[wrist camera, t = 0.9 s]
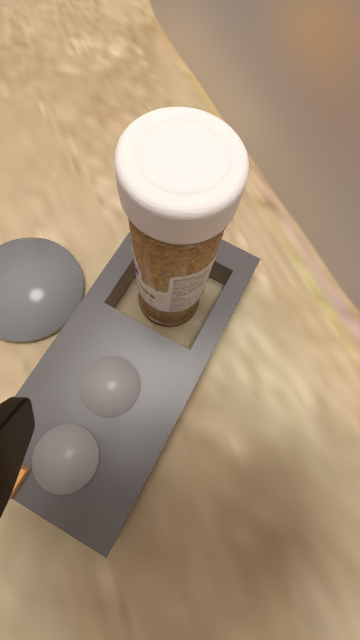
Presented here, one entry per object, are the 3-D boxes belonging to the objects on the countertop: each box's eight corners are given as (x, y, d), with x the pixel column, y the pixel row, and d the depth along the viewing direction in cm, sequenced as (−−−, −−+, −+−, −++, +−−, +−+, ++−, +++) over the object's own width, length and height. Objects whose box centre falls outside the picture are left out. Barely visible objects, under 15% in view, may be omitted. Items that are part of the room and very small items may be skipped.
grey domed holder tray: (113, 537, 18) (104, 563, 15) (-11, 460, 19) (-43, 470, 16) (250, 274, 24) (263, 254, 21) (150, 223, 24) (149, 197, 21)
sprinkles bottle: (129, 284, 23) (90, 120, 10) (183, 263, 23) (213, 85, 11) (154, 338, 22) (146, 233, 9) (209, 313, 22) (278, 184, 10)
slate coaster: (41, 363, 20) (38, 362, 20) (-53, 309, 21) (-59, 306, 21) (105, 272, 23) (104, 268, 22) (18, 225, 23) (14, 220, 23)
